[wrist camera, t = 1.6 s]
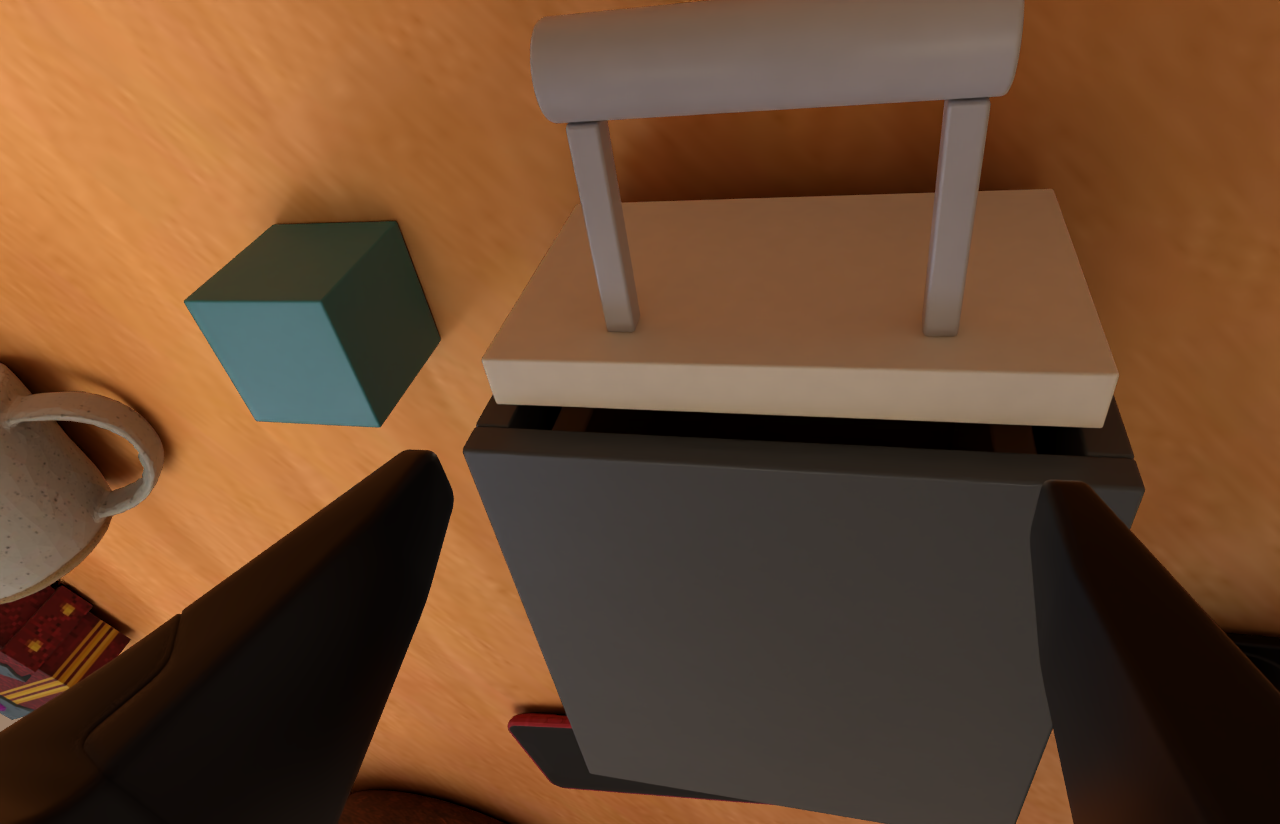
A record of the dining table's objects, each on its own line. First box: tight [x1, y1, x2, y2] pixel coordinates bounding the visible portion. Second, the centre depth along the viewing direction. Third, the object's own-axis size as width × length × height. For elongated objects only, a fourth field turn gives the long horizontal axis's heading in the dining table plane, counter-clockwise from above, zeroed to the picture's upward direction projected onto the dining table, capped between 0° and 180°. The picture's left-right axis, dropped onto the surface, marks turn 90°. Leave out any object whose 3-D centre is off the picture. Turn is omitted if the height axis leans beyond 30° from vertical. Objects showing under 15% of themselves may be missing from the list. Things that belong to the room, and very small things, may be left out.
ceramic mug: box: [0, 363, 164, 604], centre depth 32 cm, size 11×8×8 cm
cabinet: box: [463, 395, 1145, 824], centre depth 22 cm, size 15×13×9 cm
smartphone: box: [508, 713, 773, 805], centre depth 42 cm, size 7×1×15 cm
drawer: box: [482, 0, 1119, 454], centre depth 19 cm, size 19×11×7 cm, turn 9°
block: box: [184, 221, 441, 427], centre depth 24 cm, size 4×4×4 cm
